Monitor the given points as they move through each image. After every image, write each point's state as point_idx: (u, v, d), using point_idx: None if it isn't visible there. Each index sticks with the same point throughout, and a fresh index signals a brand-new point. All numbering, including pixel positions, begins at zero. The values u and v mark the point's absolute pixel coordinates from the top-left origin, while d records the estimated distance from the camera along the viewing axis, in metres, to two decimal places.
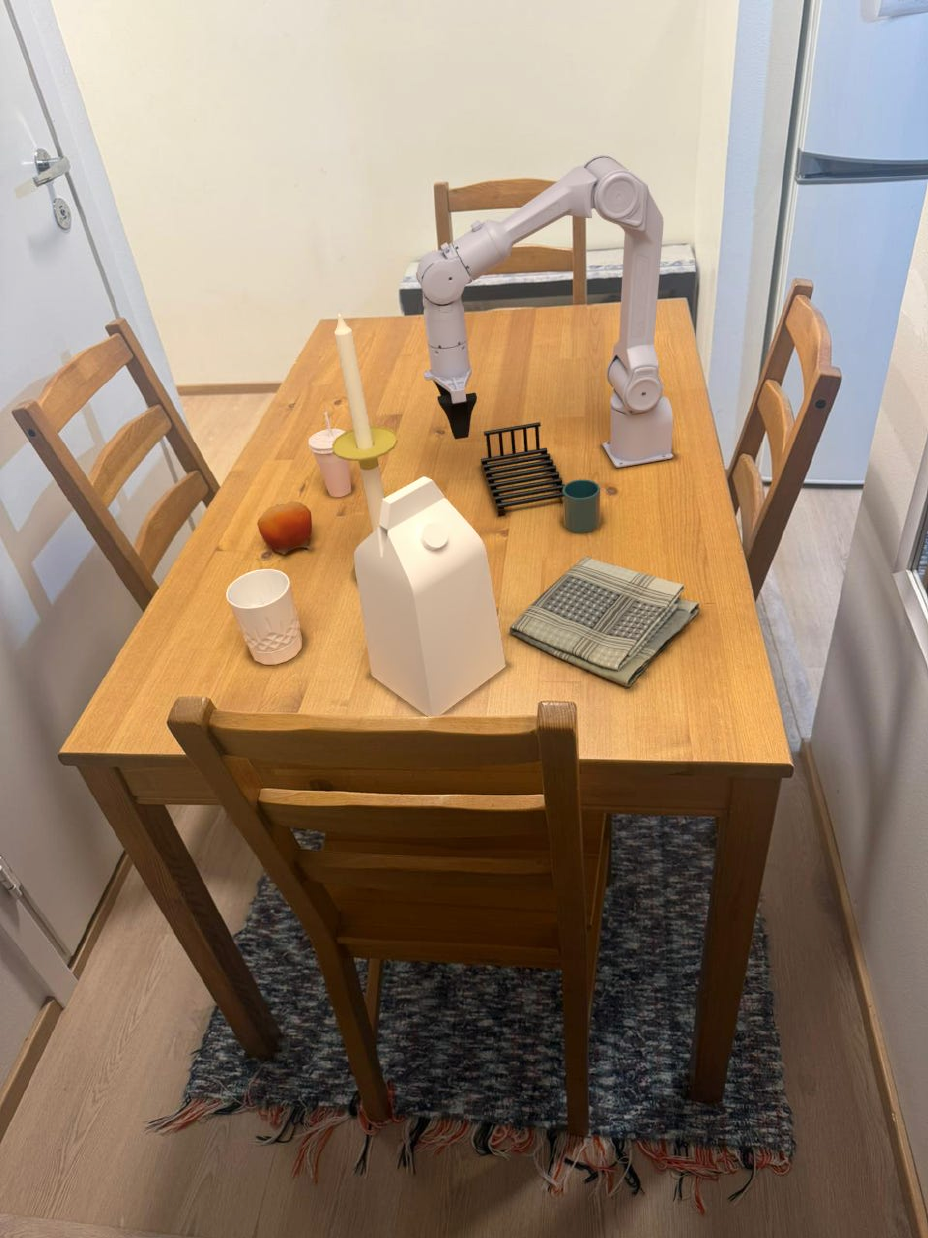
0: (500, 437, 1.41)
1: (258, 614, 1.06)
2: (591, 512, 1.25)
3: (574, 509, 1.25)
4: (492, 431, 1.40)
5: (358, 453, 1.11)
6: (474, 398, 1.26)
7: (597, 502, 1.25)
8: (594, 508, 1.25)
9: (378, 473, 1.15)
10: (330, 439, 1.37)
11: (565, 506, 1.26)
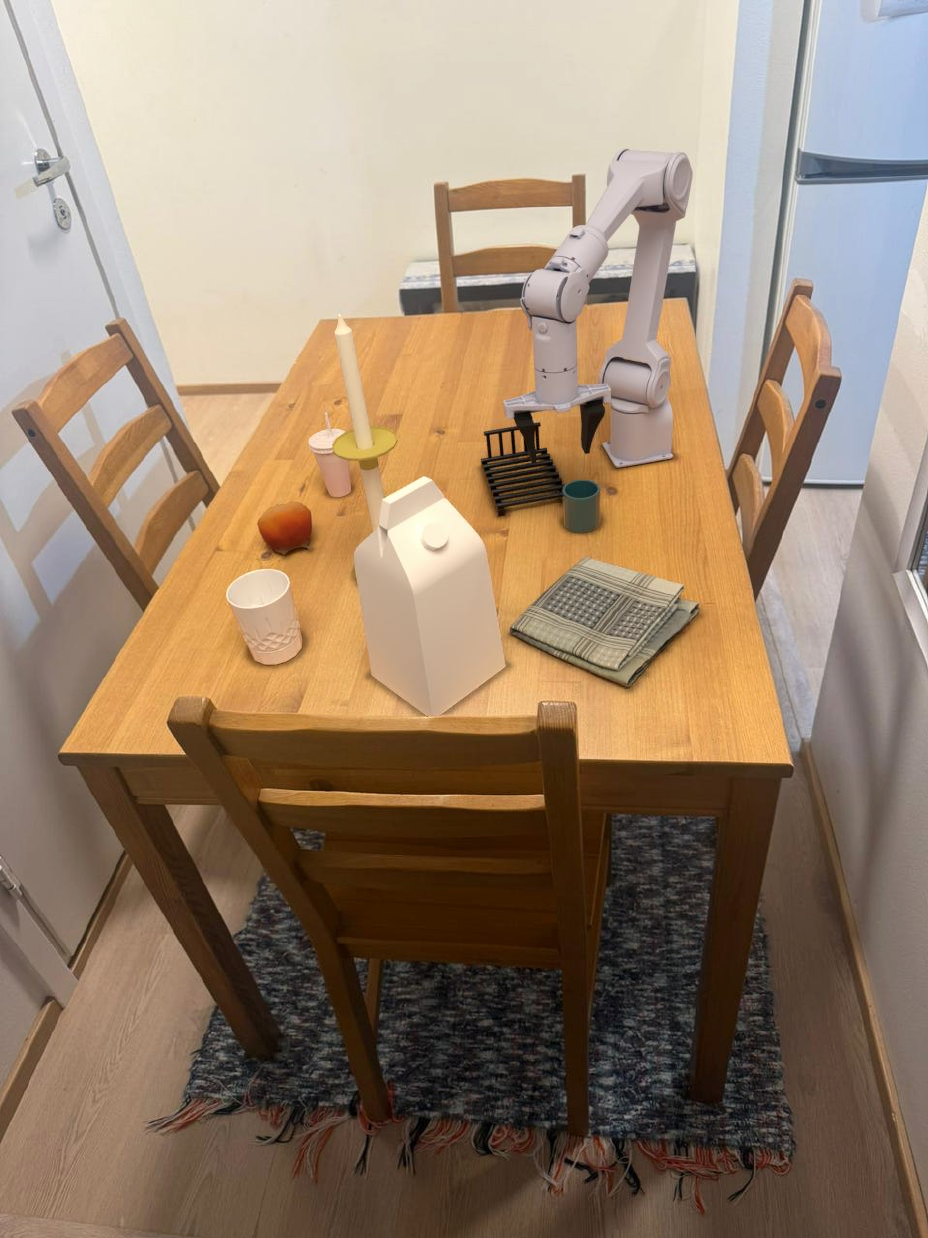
0: (500, 437, 1.41)
1: (258, 614, 1.06)
2: (591, 512, 1.25)
3: (574, 509, 1.25)
4: (492, 431, 1.40)
5: (358, 453, 1.11)
6: None
7: (597, 502, 1.25)
8: (594, 508, 1.25)
9: (378, 473, 1.15)
10: (330, 439, 1.37)
11: (565, 506, 1.26)
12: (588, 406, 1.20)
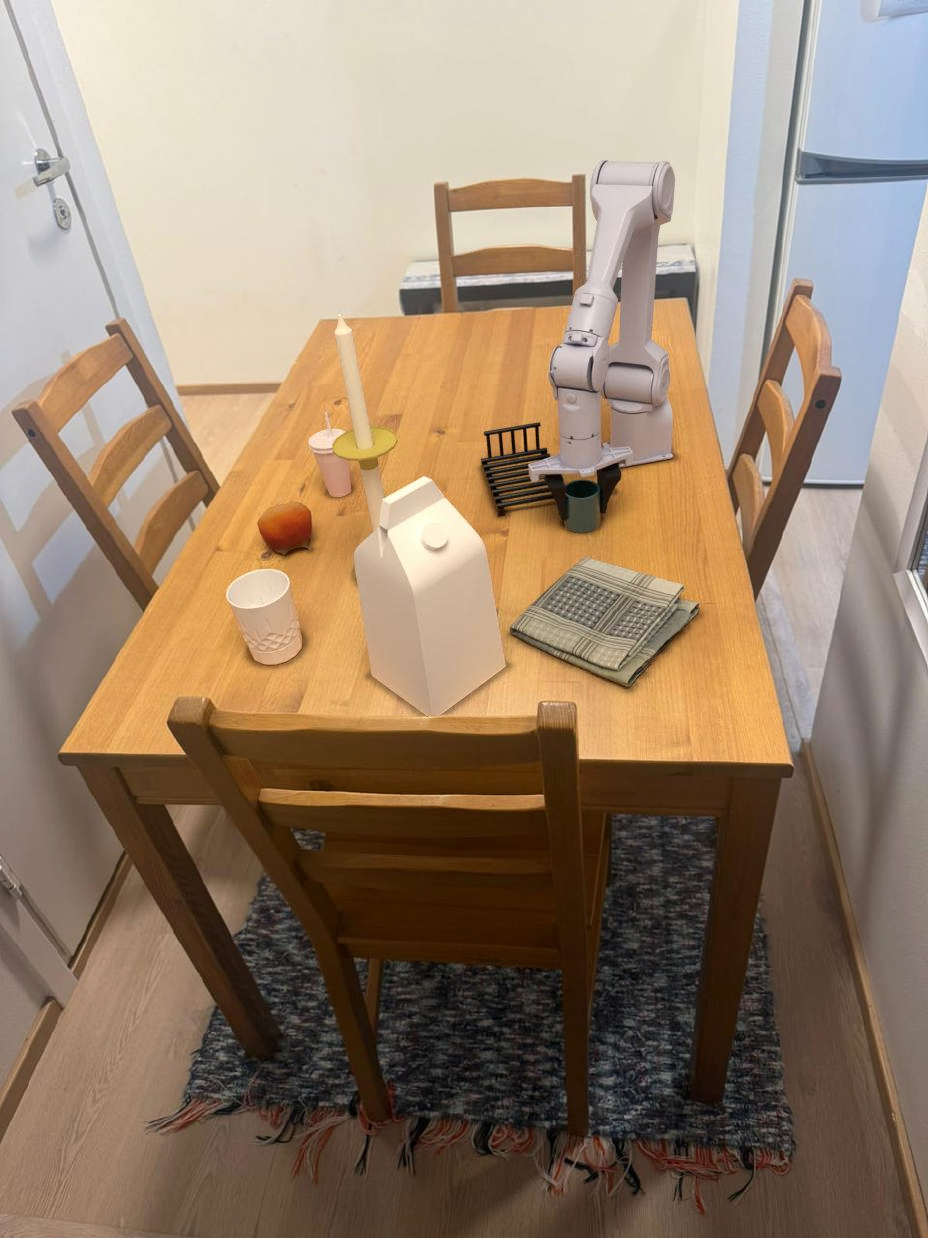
0: (500, 437, 1.41)
1: (258, 614, 1.06)
2: (591, 512, 1.25)
3: (574, 509, 1.25)
4: (492, 431, 1.40)
5: (358, 453, 1.11)
6: None
7: (597, 502, 1.25)
8: (594, 508, 1.25)
9: (378, 473, 1.15)
10: (330, 439, 1.37)
11: None
12: (605, 470, 1.23)
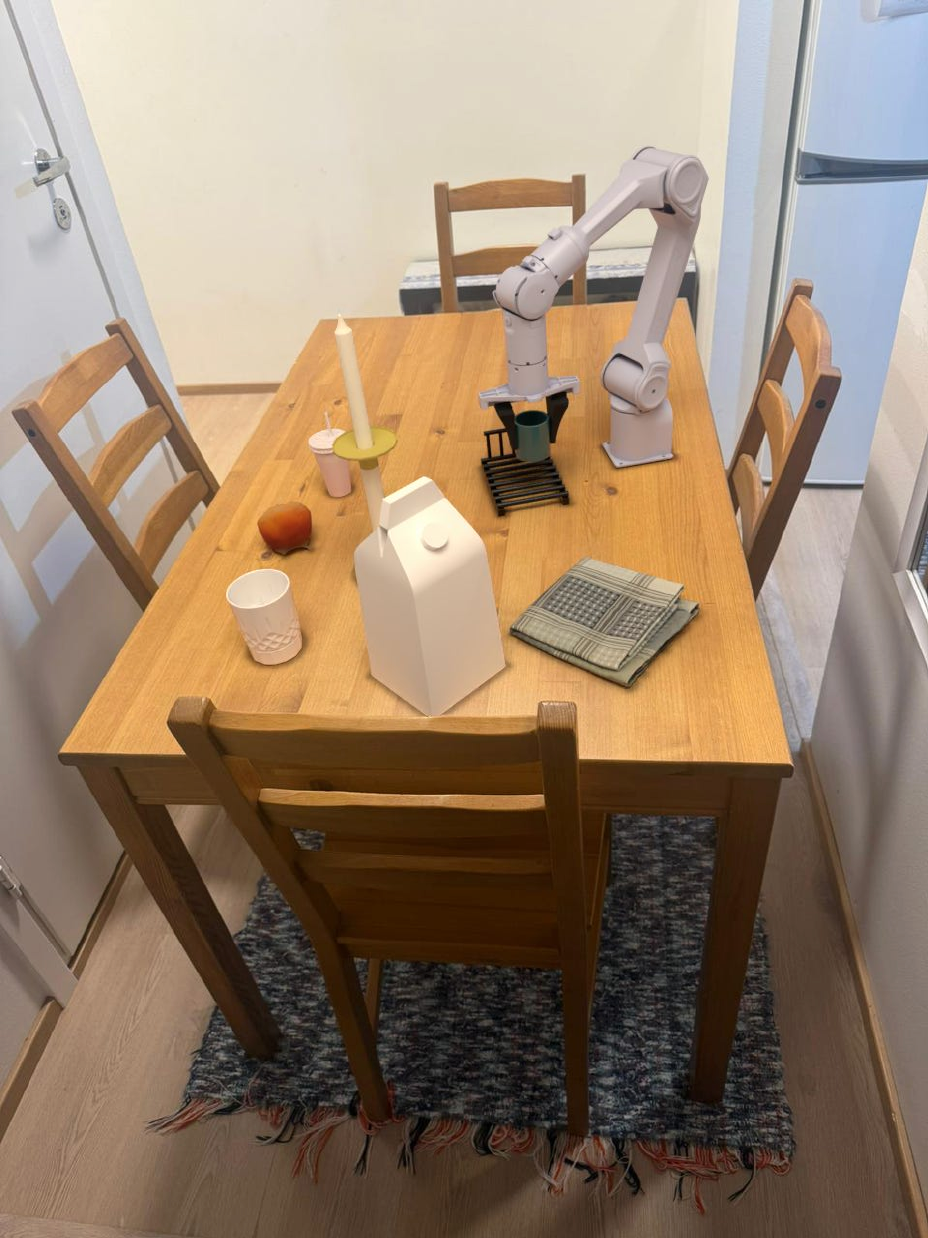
0: (500, 437, 1.41)
1: (258, 614, 1.06)
2: (541, 440, 1.28)
3: (524, 437, 1.28)
4: (492, 431, 1.40)
5: (358, 453, 1.11)
6: None
7: (546, 431, 1.28)
8: (544, 437, 1.28)
9: (378, 473, 1.15)
10: (330, 439, 1.37)
11: (516, 435, 1.29)
12: (553, 398, 1.26)
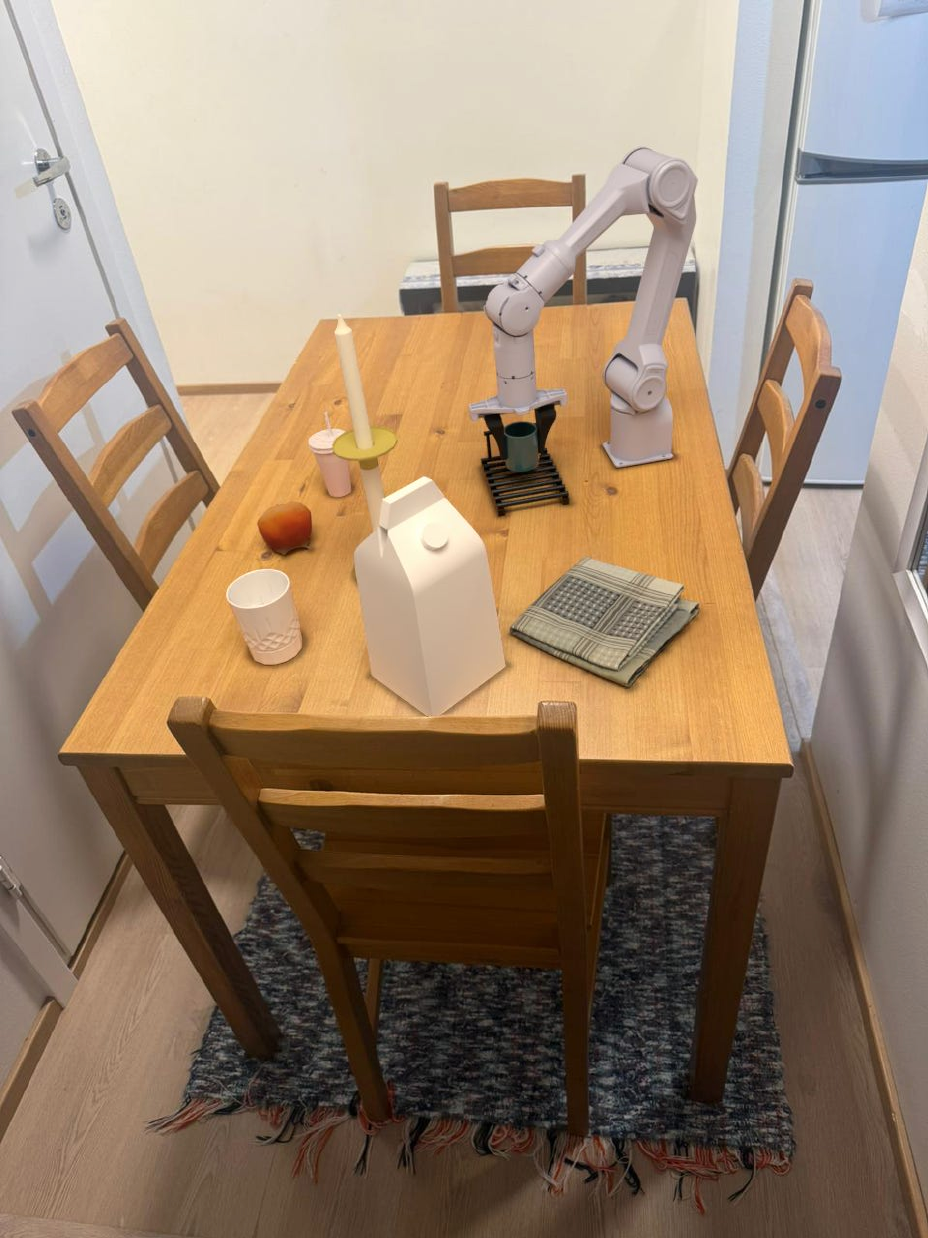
0: None
1: (258, 614, 1.06)
2: (529, 451, 1.32)
3: (513, 448, 1.32)
4: None
5: (358, 453, 1.11)
6: None
7: (535, 442, 1.32)
8: (532, 447, 1.32)
9: (378, 473, 1.15)
10: (330, 439, 1.37)
11: (505, 446, 1.33)
12: (541, 410, 1.30)
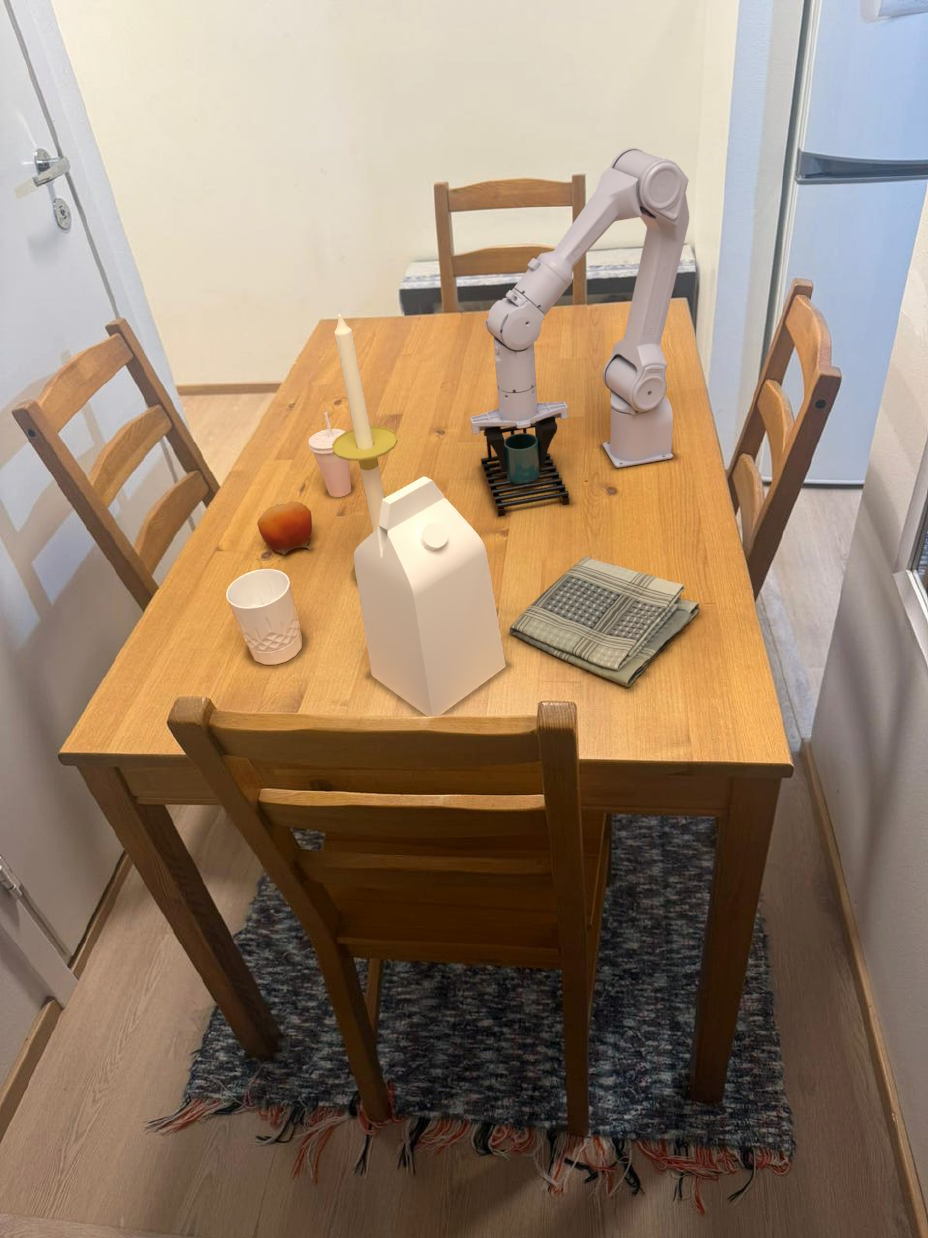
0: None
1: (258, 614, 1.06)
2: (530, 463, 1.34)
3: (514, 460, 1.33)
4: None
5: (358, 453, 1.11)
6: None
7: (535, 453, 1.34)
8: (533, 459, 1.34)
9: (378, 473, 1.15)
10: (330, 439, 1.37)
11: (506, 457, 1.34)
12: (542, 423, 1.32)
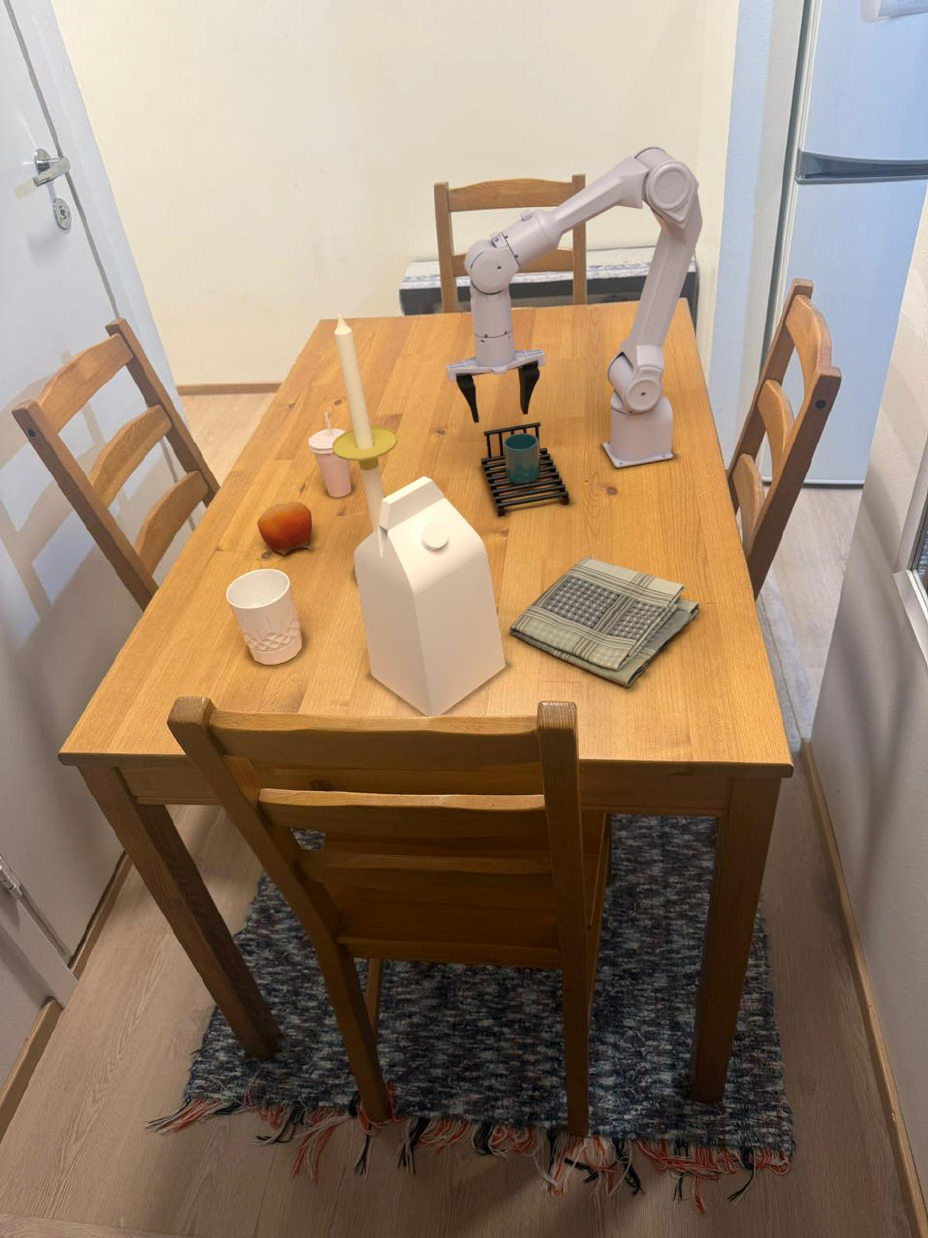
0: (500, 437, 1.41)
1: (258, 614, 1.06)
2: (530, 463, 1.34)
3: (514, 460, 1.33)
4: (492, 431, 1.40)
5: (358, 453, 1.11)
6: None
7: (535, 453, 1.34)
8: (533, 459, 1.34)
9: (378, 473, 1.15)
10: (330, 439, 1.37)
11: (506, 457, 1.34)
12: (524, 369, 1.30)
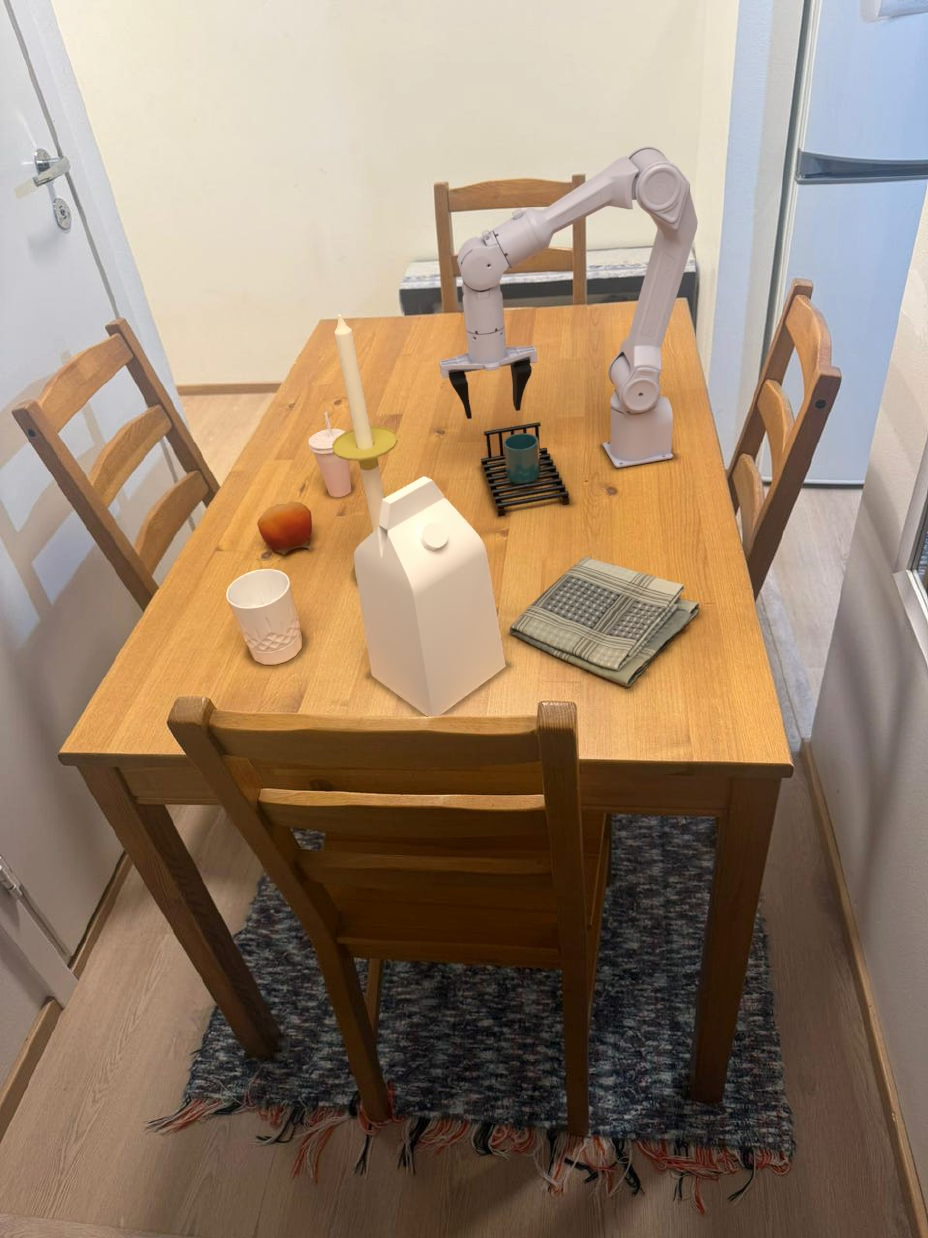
0: (500, 437, 1.41)
1: (258, 614, 1.06)
2: (530, 463, 1.34)
3: (514, 460, 1.33)
4: (492, 431, 1.40)
5: (358, 453, 1.11)
6: None
7: (535, 453, 1.34)
8: (533, 459, 1.34)
9: (378, 473, 1.15)
10: (330, 439, 1.37)
11: (506, 457, 1.34)
12: (516, 366, 1.32)
